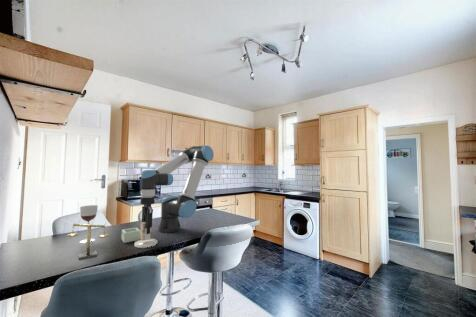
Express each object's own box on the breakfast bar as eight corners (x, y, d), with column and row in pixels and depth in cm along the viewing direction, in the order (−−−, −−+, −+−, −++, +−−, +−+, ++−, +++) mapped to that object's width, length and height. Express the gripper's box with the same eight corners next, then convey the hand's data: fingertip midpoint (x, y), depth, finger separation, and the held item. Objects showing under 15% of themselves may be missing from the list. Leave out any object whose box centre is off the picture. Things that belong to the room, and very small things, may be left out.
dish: (153, 239, 128) (153, 237, 128) (160, 245, 119) (160, 242, 119) (132, 243, 121) (132, 241, 121) (137, 249, 112) (137, 247, 112)
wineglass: (74, 242, 122) (76, 207, 123) (89, 237, 130) (91, 204, 131) (85, 243, 119) (87, 208, 120) (99, 239, 127) (101, 205, 129)
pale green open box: (136, 236, 134) (136, 227, 134) (139, 239, 127) (140, 230, 127) (121, 238, 129) (121, 229, 129) (124, 242, 122) (124, 233, 122)
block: (149, 236, 123) (149, 221, 124) (151, 239, 119) (152, 222, 120) (139, 238, 120) (140, 222, 121) (142, 240, 116) (142, 224, 117)
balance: (107, 250, 110) (109, 218, 111) (109, 253, 106) (110, 220, 107) (65, 258, 99) (67, 223, 100) (65, 262, 95) (67, 225, 96)
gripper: (137, 195, 126) (135, 235, 125) (145, 198, 112) (143, 243, 111) (150, 194, 131) (148, 233, 129) (159, 197, 117) (157, 241, 115)
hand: (146, 238), depth 120 cm, fingers closed on block, 5 cm apart
